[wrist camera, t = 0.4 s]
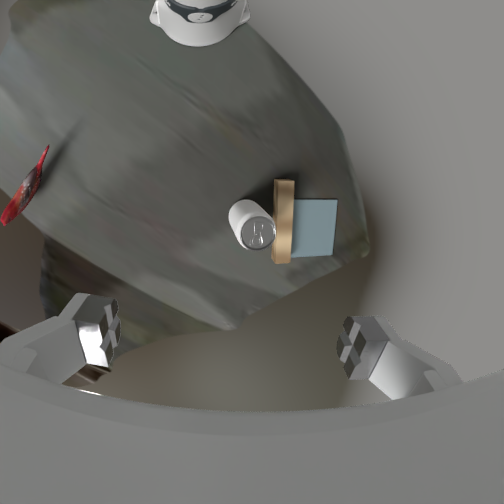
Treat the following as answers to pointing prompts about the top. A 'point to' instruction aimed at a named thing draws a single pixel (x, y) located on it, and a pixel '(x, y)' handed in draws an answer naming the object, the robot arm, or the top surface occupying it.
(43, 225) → the top surface
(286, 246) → the oak rail
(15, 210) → the decorative bird figurine
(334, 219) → the felt mat
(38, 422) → the robot arm
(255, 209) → the can
